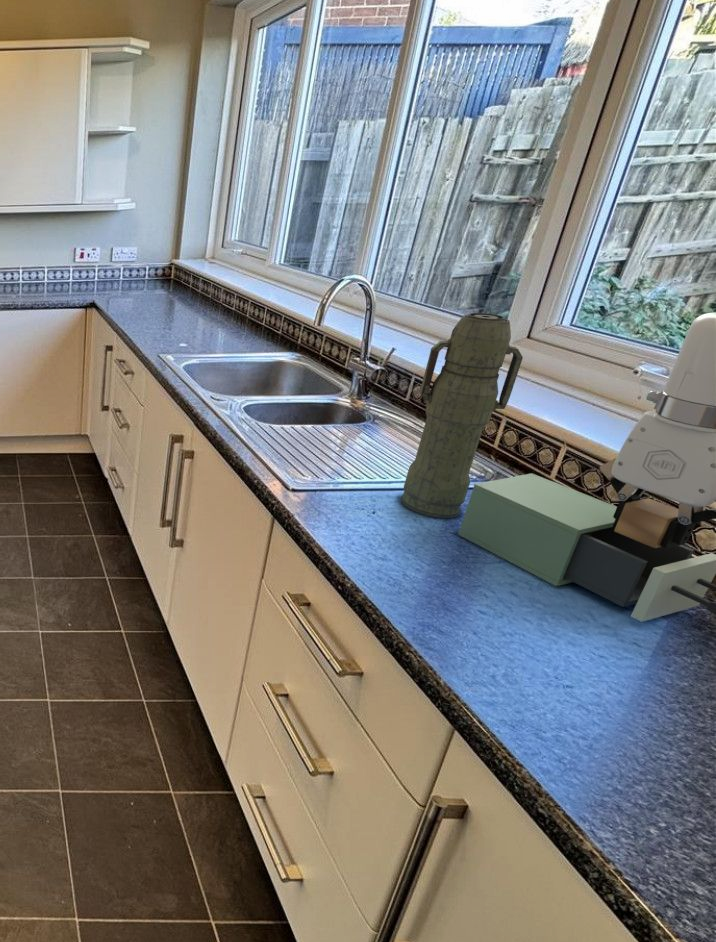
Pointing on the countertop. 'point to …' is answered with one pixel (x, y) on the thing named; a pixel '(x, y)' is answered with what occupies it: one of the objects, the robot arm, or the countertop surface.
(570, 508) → the sage drawer box
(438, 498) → the thermos
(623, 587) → the pull-out drawer
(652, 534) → the block
